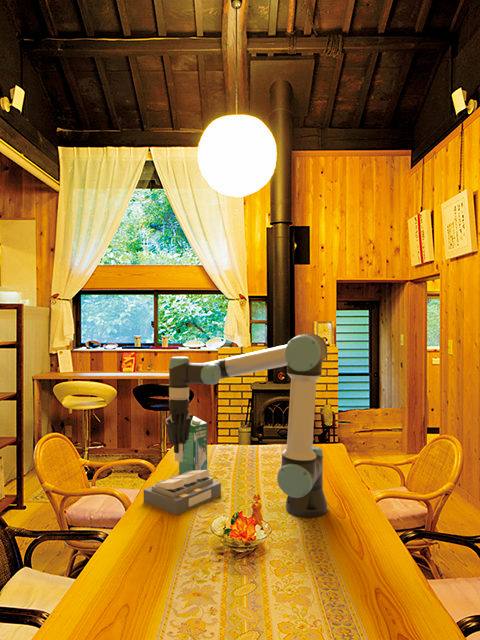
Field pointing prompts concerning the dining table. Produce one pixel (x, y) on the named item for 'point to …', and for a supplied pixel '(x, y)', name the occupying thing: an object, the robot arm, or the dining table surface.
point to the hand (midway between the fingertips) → (178, 460)
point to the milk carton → (195, 447)
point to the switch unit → (183, 495)
